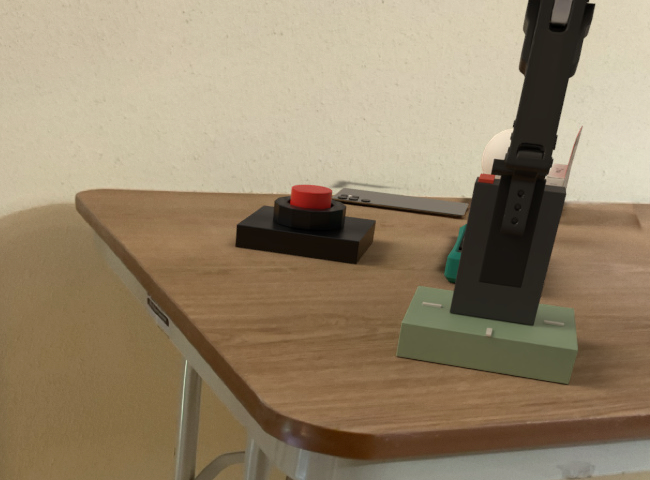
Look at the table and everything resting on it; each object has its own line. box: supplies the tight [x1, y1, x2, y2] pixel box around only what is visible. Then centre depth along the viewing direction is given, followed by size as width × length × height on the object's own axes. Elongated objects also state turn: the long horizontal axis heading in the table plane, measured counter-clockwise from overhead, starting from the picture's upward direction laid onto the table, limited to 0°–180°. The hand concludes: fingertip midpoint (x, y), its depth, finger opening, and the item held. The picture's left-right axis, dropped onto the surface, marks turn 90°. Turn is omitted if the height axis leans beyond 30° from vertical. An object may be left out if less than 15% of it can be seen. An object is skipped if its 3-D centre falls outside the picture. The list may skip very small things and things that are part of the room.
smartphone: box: [332, 187, 470, 219], centre depth 109 cm, size 8×1×16 cm
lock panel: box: [395, 285, 579, 385], centre depth 65 cm, size 12×10×3 cm
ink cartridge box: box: [545, 125, 584, 190], centre depth 108 cm, size 2×11×10 cm, turn 159°
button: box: [290, 184, 333, 209], centre depth 86 cm, size 4×4×2 cm
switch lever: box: [450, 172, 567, 325], centre depth 62 cm, size 6×2×9 cm, turn 74°
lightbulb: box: [481, 127, 513, 179], centre depth 95 cm, size 6×6×11 cm
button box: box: [234, 195, 377, 265], centre depth 88 cm, size 12×10×4 cm
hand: (503, 261), depth 63 cm, fingers open, 12 cm apart
